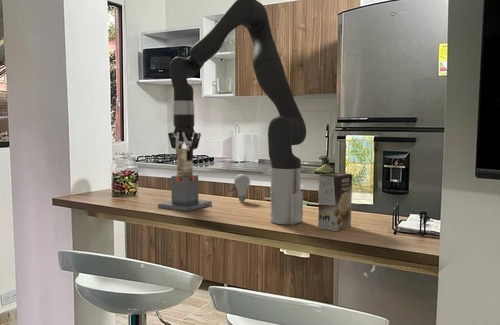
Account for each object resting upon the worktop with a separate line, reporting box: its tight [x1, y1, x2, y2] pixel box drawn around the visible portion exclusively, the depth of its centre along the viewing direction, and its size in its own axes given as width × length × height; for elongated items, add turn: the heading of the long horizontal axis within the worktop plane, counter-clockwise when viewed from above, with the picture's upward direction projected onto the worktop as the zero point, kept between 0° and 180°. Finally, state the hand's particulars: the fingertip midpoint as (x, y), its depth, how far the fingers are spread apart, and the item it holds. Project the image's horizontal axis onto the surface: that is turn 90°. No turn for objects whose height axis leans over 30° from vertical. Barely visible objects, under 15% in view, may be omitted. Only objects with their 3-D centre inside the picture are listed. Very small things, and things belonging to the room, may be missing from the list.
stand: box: [157, 174, 213, 213], centre depth 167 cm, size 14×14×12 cm
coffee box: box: [317, 172, 353, 232], centre depth 134 cm, size 9×6×16 cm
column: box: [176, 147, 194, 177], centre depth 166 cm, size 4×4×16 cm
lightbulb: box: [233, 173, 251, 203], centre depth 176 cm, size 6×6×11 cm
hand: (184, 160), depth 166 cm, fingers closed on column, 4 cm apart
